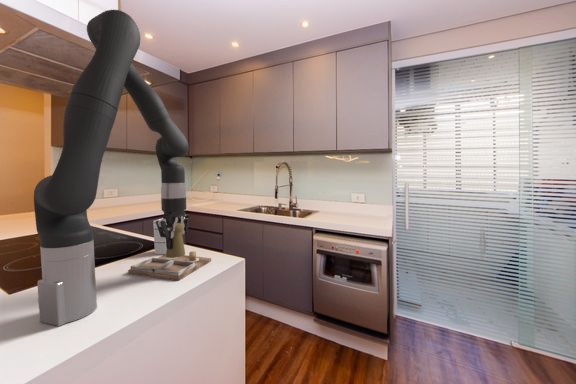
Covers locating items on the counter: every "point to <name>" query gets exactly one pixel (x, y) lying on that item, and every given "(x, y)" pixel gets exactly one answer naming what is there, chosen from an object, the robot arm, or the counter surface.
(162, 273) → the board
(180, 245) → the cork
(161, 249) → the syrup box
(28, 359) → the counter surface
